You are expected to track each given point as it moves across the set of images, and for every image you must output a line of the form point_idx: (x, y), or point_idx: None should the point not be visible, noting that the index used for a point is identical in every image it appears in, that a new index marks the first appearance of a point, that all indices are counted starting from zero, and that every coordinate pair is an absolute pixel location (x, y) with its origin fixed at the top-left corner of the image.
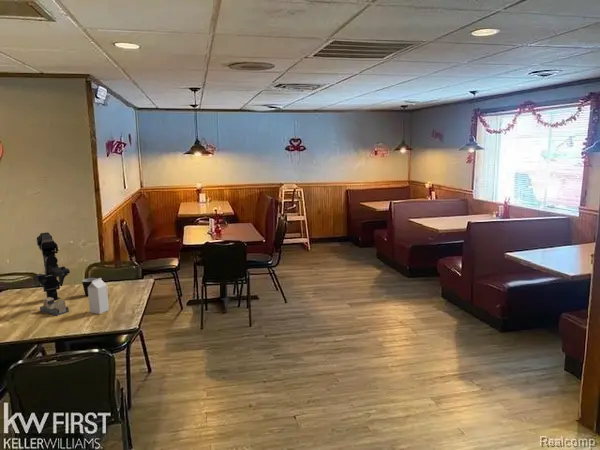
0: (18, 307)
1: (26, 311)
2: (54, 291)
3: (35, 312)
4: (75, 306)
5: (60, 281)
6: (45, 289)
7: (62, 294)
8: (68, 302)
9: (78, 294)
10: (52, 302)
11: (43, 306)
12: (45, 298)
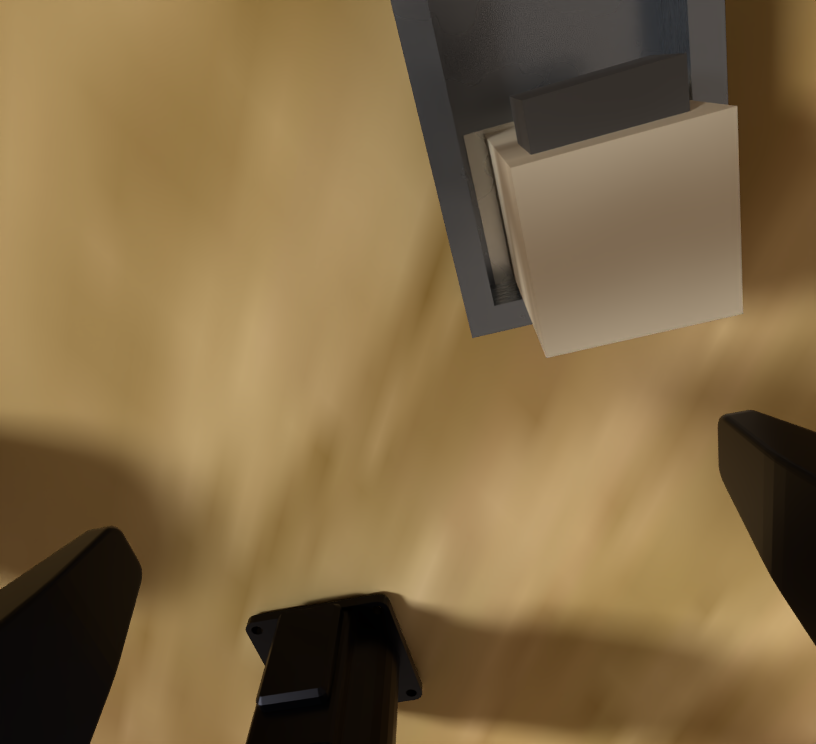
0: (756, 656)
1: None
2: (288, 729)
3: (763, 268)
4: (105, 9)
5: (8, 736)
6: (801, 436)
7: (192, 730)
8: (183, 376)
9: None
10: (561, 82)
11: None
12: (665, 319)
